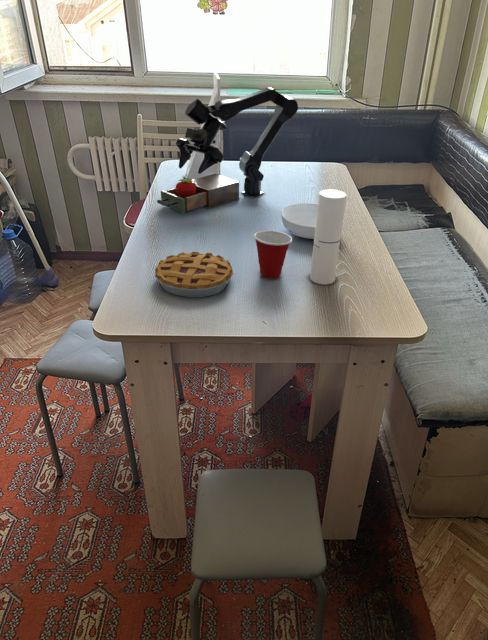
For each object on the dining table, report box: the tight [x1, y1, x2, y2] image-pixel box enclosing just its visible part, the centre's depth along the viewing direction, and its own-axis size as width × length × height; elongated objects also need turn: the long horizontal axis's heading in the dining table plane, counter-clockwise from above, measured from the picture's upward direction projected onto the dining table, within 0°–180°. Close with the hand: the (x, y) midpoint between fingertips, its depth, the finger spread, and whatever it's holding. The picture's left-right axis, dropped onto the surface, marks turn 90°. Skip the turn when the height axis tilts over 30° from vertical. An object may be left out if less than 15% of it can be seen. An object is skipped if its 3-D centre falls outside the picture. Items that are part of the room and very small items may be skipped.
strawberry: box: [175, 174, 196, 199], centre depth 192 cm, size 6×8×10 cm
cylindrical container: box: [309, 188, 347, 285], centre depth 146 cm, size 7×7×25 cm
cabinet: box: [192, 174, 240, 209], centre depth 202 cm, size 16×13×7 cm
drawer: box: [156, 187, 208, 214], centre depth 193 cm, size 20×12×5 cm, turn 138°
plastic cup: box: [253, 230, 293, 280], centre depth 151 cm, size 11×11×12 cm
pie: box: [154, 251, 235, 298], centre depth 147 cm, size 22×22×5 cm
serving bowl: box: [280, 202, 318, 240], centre depth 179 cm, size 21×21×7 cm
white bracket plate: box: [183, 70, 221, 180], centre depth 211 cm, size 20×14×40 cm
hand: (189, 170), depth 190 cm, fingers open, 9 cm apart
